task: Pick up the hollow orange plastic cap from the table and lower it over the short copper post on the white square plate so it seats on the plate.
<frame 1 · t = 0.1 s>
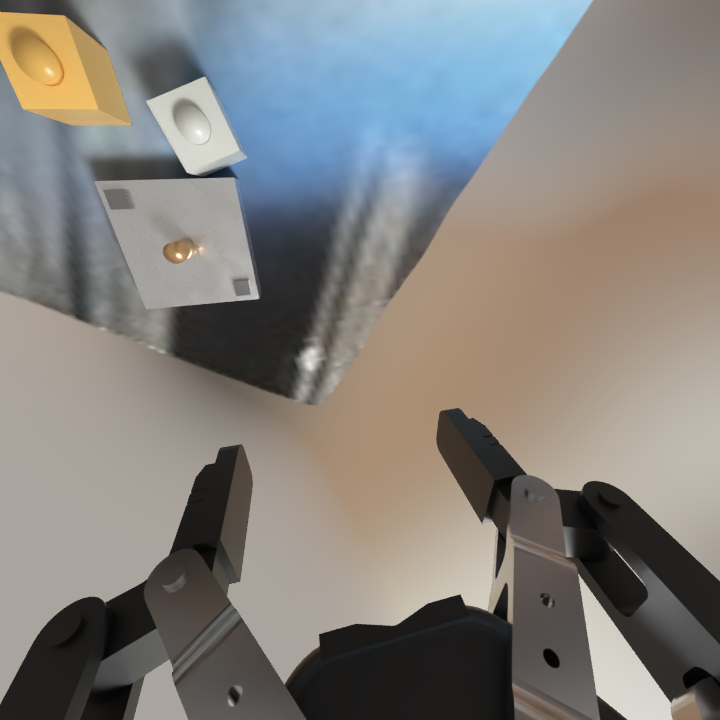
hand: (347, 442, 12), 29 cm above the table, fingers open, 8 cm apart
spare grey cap: (210, 139, 29), on the table
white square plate: (195, 243, 33), on the table
orange cap: (88, 89, 26), on the table
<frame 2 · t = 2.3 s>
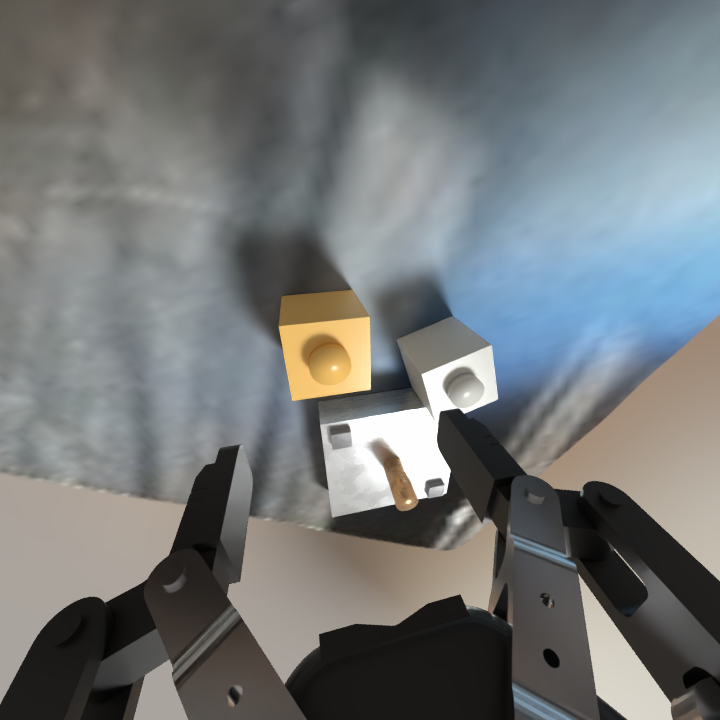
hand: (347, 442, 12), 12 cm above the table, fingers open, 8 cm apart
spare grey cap: (430, 351, 25), on the table
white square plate: (383, 440, 29), on the table
orange cap: (321, 325, 22), on the table
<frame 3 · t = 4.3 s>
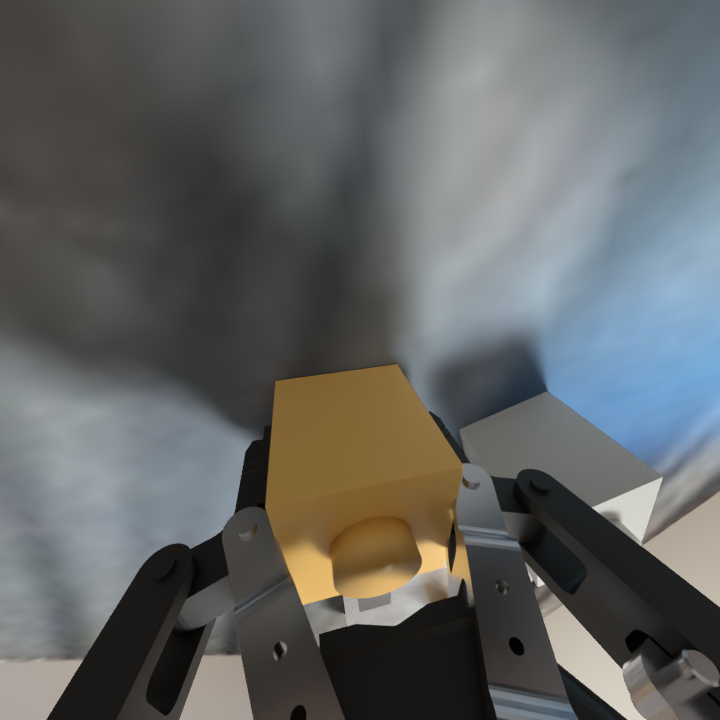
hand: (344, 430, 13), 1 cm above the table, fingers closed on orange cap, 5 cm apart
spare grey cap: (506, 440, 16), on the table
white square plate: (425, 552, 20), on the table
orange cap: (342, 419, 13), on the table, touching gripper
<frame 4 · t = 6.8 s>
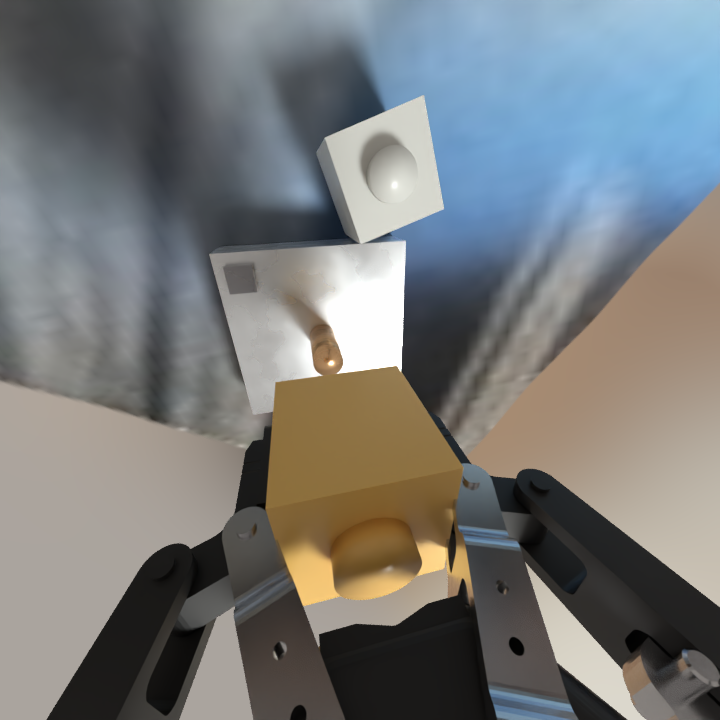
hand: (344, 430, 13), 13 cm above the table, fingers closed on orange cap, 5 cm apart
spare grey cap: (365, 181, 20), on the table
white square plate: (318, 320, 23), on the table
orange cap: (342, 420, 13), point 12 cm above the table, touching gripper
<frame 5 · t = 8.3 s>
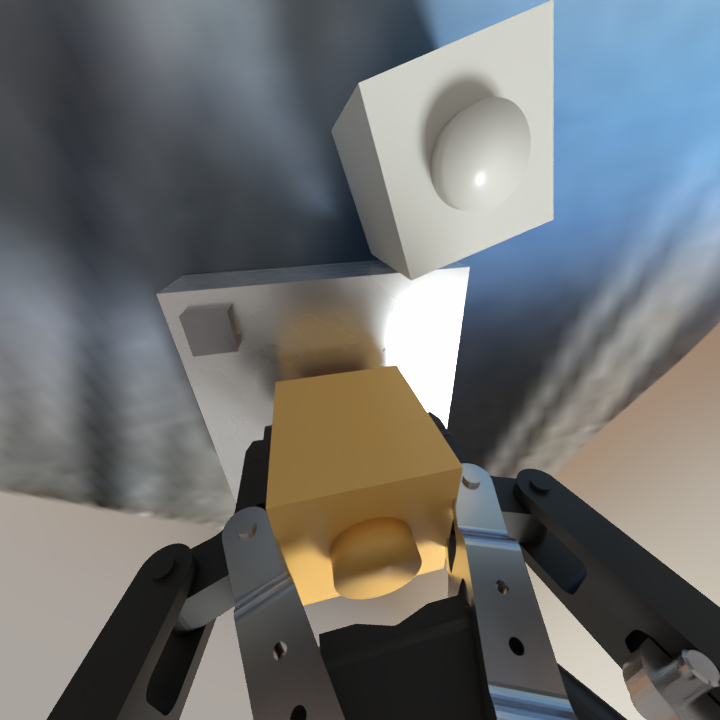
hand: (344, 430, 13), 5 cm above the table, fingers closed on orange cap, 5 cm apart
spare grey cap: (404, 176, 13), on the table
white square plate: (330, 372, 17), on the table
orange cap: (342, 420, 13), point 4 cm above the table, touching gripper
when the fingers open (5 cm above the table, at t = 9.2 s): orange cap drops 1 cm, resting on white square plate.
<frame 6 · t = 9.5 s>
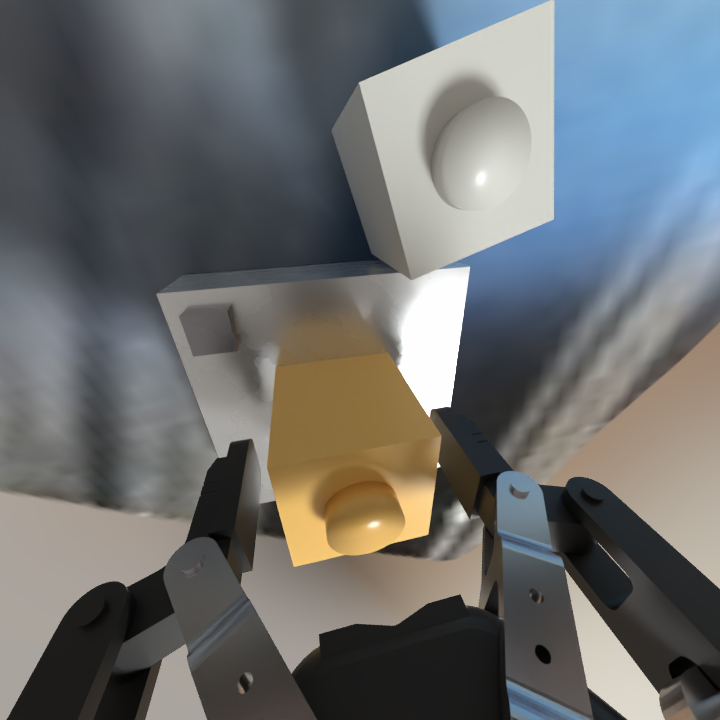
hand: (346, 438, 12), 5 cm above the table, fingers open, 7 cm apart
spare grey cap: (405, 175, 13), on the table
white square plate: (330, 372, 17), on the table
orange cap: (337, 404, 14), point 3 cm above the table, touching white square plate
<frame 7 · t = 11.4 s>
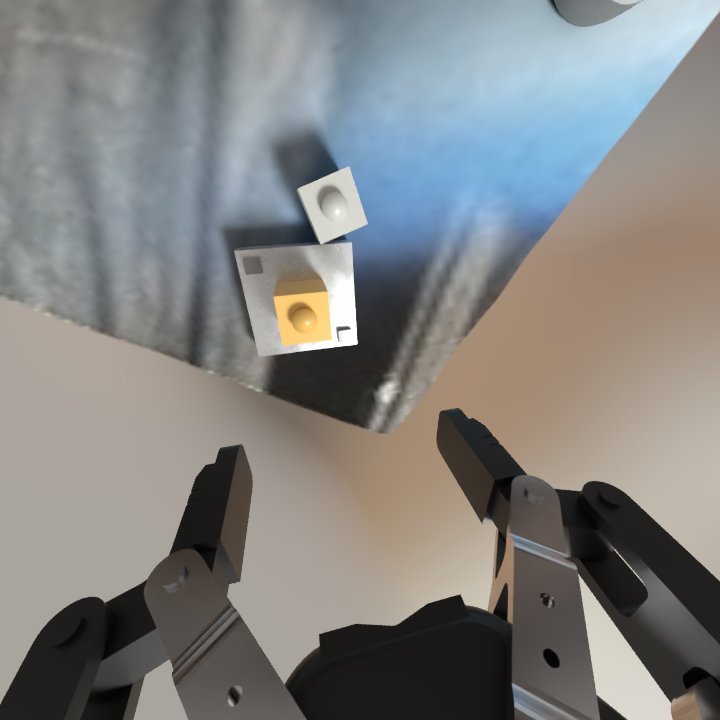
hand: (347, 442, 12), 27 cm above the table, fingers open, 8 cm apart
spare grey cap: (327, 206, 32), on the table
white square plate: (301, 295, 36), on the table
orange cap: (302, 303, 33), point 3 cm above the table, touching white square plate
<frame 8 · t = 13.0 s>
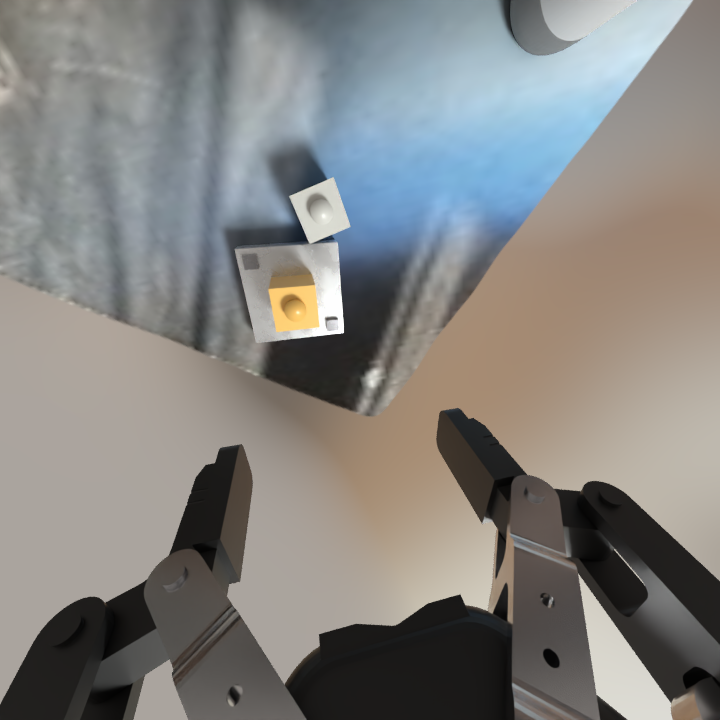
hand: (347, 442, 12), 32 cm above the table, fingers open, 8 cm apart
smart speaker: (538, 6, 32), on the table
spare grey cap: (317, 210, 36), on the table
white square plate: (294, 289, 40), on the table
orange cap: (294, 295, 38), point 3 cm above the table, touching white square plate
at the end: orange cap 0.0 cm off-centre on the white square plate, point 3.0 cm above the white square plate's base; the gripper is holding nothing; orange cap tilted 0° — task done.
